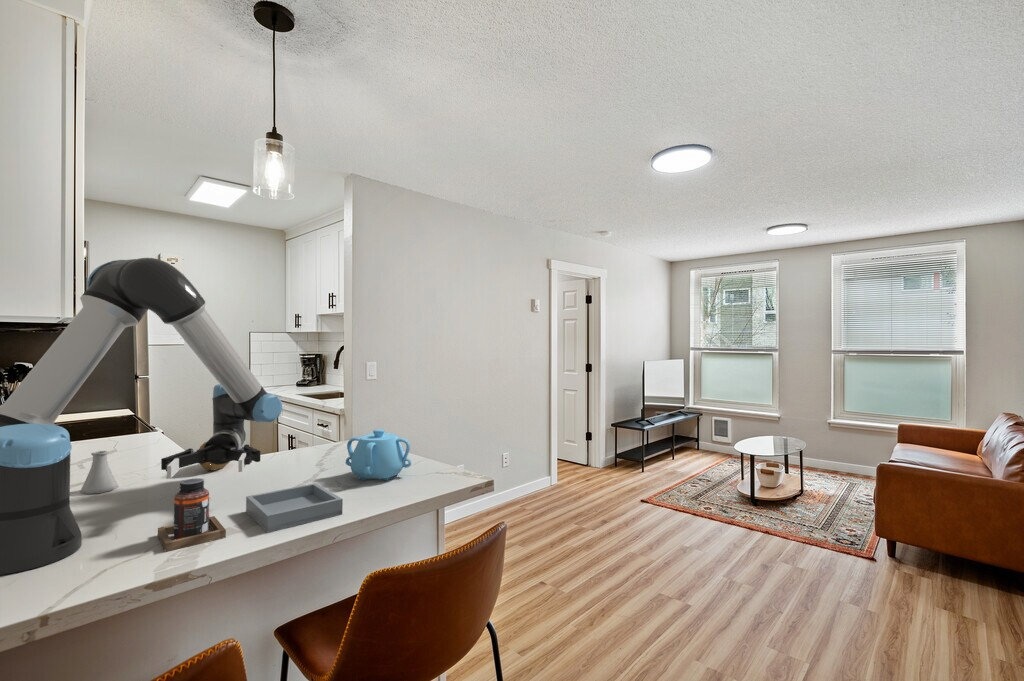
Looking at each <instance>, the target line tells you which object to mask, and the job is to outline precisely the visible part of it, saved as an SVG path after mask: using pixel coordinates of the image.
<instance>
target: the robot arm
mask: <svg viewBox="0 0 1024 681" xmlns="http://www.w3.org/2000/svg"><path fill="white" fill-rule="evenodd" d="M86 287H87V289H86V290H85V291H84V292H83V293H82V295H81V296H80V297H79V300H80V302H81V304H82V308H80V310H79V311H78V312H77V314H76V315H75V317H74V318H73V319H72V320H71V321H70V322H69V324H67V326H66V327H65V328H64V330H63V331H62V332H61V334H59V336H58V337H57V338H56V339H55V341H54V342H53V343H52V344H51V346H50V347H49V348H48V349H47V350H46V352H45V353H44V354H43V355H42V357H41V358H40V359H39V360H38V361H37V363H36V364H35V365H34V366H33V367H32V368H31V370H30V371H29V372H28V373H27V375H26V376H25V377H24V378H23V379H22V381H21V382H20V383H19V384H18V386H17V387H16V388H15V389H14V390H13V392H12V393H11V394H10V395H9V397H7V399H6V400H5V401H4V403H3V404H1V405H0V576H1V575H7V574H13V573H19V572H24V571H28V570H32V569H36V568H39V567H42V566H47V565H49V564H52V563H54V562H57V561H60V560H63V559H65V558H66V557H69V556H71V555H73V554H74V553H76V552H77V551H79V549H81V548H82V544H83V541H82V540H83V537H82V536H83V535H82V531H81V529H80V526H79V525H78V522H77V521H76V520H77V519H76V518H75V516H74V513H73V511H72V509H71V504H70V503H71V499H70V498H71V497H70V496H71V493H70V492H71V451H72V443H71V438H70V437H71V436H70V433H69V431H68V430H67V429H66V428H64V427H63V426H59V425H58V424H57V425H56V424H55V421H56V420H57V419H58V417H59V416H60V415H61V413H62V412H63V411H64V409H65V408H66V406H67V405H68V404H69V403H70V402H71V400H72V399H73V397H74V396H75V395H76V393H77V392H78V391H79V390H80V389H81V388H82V386H83V384H84V383H85V382H86V380H87V379H88V378H89V376H90V375H91V374H92V373H93V371H94V370H95V368H96V367H97V366H98V365H99V363H100V362H101V360H102V359H103V358H104V357H105V355H106V354H107V352H108V351H109V350H110V348H111V347H112V346H113V345H114V343H115V342H116V340H117V339H118V338H119V337H120V335H121V334H122V332H123V331H124V330H125V329H126V328H129V327H134V326H137V325H138V324H139V323H140V322H141V320H142V319H143V317H144V316H145V315H146V314H147V312H148V311H151V312H152V313H154V314H155V315H156V316H157V317H158V318H160V320H161V321H162V323H163V324H165V325H170V326H172V328H174V330H176V332H177V333H178V334H179V335H180V337H181V338H182V340H184V341H185V343H186V344H187V345H188V347H189V348H190V349H191V350H192V351H193V353H194V354H195V355H196V356H197V357H198V359H199V360H200V362H201V363H202V364H203V365H204V367H205V368H206V369H207V370H208V371H209V372H210V373H211V375H212V376H213V377H214V378H215V380H216V381H217V382H218V384H216V385H214V387H213V390H212V391H213V393H212V398H211V399H212V400H211V401H212V413H213V414H212V417H213V419H212V436H211V437H210V438H209V439H208V440H207V441H206V442H207V443H206V444H205V446H204V448H202V449H199V448H198V449H197V450H196V451H194V449H193V448H188V449H186V450H184V451H180V452H178V453H175V454H173V455H169V456H166V457H162V458H161V459H160V461H161V462H160V464H161V469H160V470H161V471H165V472H166V479H172V478H173V477H174V476H175V475H176V474H177V473H178V472H179V471H180V469H182V468H184V467H189V466H191V465H196V464H199V465H200V464H203V463H207V462H210V463H212V464H216V465H221V464H225V463H228V462H229V461H230V462H234V461H235V462H237V464H238V467H237V468H238V473H243V471H244V469H245V467H246V466H247V465H251V463H253V462H255V463H260V462H261V450H258V449H256V448H254V447H251V446H250V444H244V443H245V441H246V438H247V436H246V435H247V433H246V429H245V421H250V422H256V423H271V422H274V421H276V420H277V419H278V418H279V417H280V416H281V414H282V411H283V402H282V399H281V398H280V397H279V396H277V395H276V394H273V393H268V392H267V391H266V390H265V388H264V387H263V386H262V384H261V383H260V382H259V380H258V379H257V377H255V375H254V373H253V372H252V371H251V369H250V368H249V367H248V366H247V364H246V362H244V360H243V359H242V357H241V356H240V355H239V353H238V352H237V350H236V349H235V348H234V347H233V345H232V344H231V342H230V341H229V339H227V336H225V334H224V333H223V332H222V330H221V328H219V326H218V325H217V323H216V322H215V321H214V320H213V318H212V317H211V315H210V314H209V313H208V311H207V310H206V309H205V308H206V307H205V306H206V304H207V302H206V300H205V299H204V297H202V295H201V294H200V292H199V291H198V290H197V288H196V287H195V286H194V284H193V283H192V282H191V281H190V280H189V279H188V278H187V277H186V275H184V274H183V273H182V272H181V271H179V269H177V268H176V267H175V266H173V265H172V264H170V263H169V262H167V261H164V260H161V259H158V258H154V257H141V258H133V259H116V260H111V261H108V262H105V263H104V264H100V265H99V266H98V267H96V268H94V269H93V270H92V272H91V273H90V274H89V276H88V279H87V283H86ZM203 459H205V460H203ZM230 462H229V463H230ZM229 463H228V464H229Z"/></svg>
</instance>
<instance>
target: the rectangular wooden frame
mask: <svg viewBox="0 0 1024 681" xmlns="http://www.w3.org/2000/svg"><path fill="white" fill-rule="evenodd" d="M209 527H211V529H212V531H209V532H207V533H203V534H198V535H194V536H189V537H185V538H181V539H176V540H175V539H172V540H171V538H170V536H169V535H174V524H169V525H166V526H165V525H164V526H161V527H160V526H159V527H157V537H158V539H159V541H160V543H161V545H162V548H163V550H164V552H165V553H166V552H170V551H175V550H178V549H183V548H187V547H191V546H196V545H200V544H204V543H208V542H211V541H210V540H213V541H215V540H214V539H217V540H219V539H218V538H221V539H223V537H225V538H226V537H227V534H226V533H227V531H226V528H225V527H224V525H222V523H221V522H220V521H219V520H218V518H217V517H216V516H213V515H212V516H209ZM207 541H208V542H207Z"/></svg>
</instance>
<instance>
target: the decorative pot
mask: <svg viewBox="0 0 1024 681" xmlns="http://www.w3.org/2000/svg"><path fill="white" fill-rule="evenodd" d="M372 432H373V433H372ZM372 432H371V433H368V434H365V435H362V436H361V437H360V436H353V437H352V438H350V439H349V440H348V442H347V444H346V448H347V453H348V455H349V456H348V457H347V458H346V459H345V464H346V466H348V467H350V470H351V472H352V474H353V475H354V477H356V478H359V480H360V481H361V480H363V481H365V480H369V479H380V480H381V481H389V480H391V478H392V477H394V476H396V475H398V474H400V473H401V471H402V470H403V468H404V469H405V468H406V469H407V468H409V467H411V466H412V460H411V459H410V458H408V455H409V454H410V451H411V443H410V442H409V440H408V439H407V438H403V437H398V435H397V434H396V433H388V432H385V429H383V428H382V429H381V428H377V429H373V430H372ZM355 441H357V443H356V446H355V448H354V451H353V448H352V443H354V442H355ZM401 442H402V443H404V444H405V445H406V448H405V452H404V449H403V446H402V443H401ZM406 462H408V463H406Z"/></svg>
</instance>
